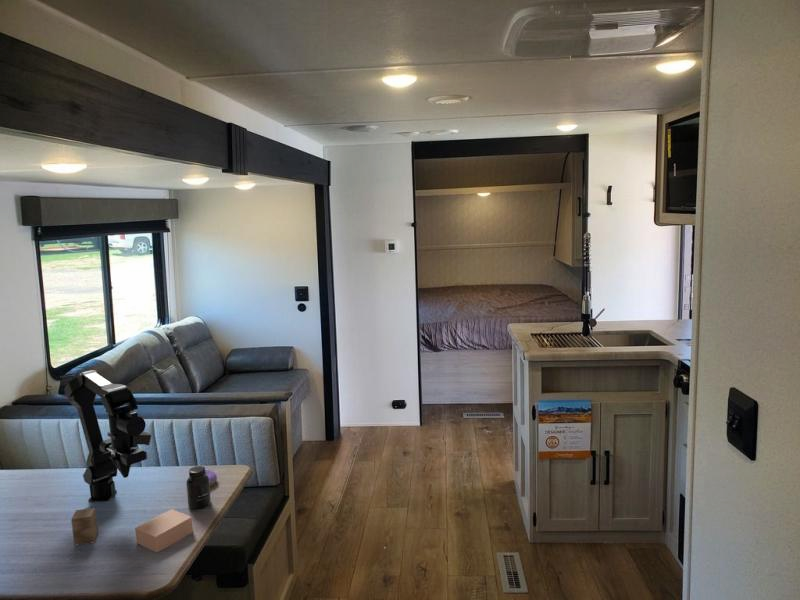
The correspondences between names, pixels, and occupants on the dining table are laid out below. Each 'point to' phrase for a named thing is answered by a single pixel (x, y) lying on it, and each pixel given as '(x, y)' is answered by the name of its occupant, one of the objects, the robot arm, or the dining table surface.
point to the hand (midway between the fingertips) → (125, 477)
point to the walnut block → (84, 526)
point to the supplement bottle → (198, 488)
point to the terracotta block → (164, 530)
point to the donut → (211, 477)
